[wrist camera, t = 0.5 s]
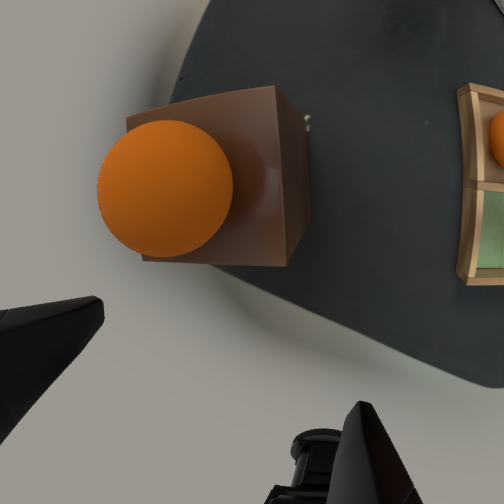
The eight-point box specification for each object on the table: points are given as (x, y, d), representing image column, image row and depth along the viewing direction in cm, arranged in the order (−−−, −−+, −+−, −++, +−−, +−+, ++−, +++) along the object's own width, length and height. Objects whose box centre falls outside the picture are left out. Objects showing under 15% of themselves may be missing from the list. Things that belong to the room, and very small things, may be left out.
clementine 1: (254, 237, 11) (202, 284, 7) (157, 237, 13) (84, 273, 8) (246, 118, 10) (183, 94, 6) (146, 136, 11) (64, 136, 7)
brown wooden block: (311, 218, 20) (286, 267, 11) (220, 219, 22) (142, 261, 13) (306, 120, 18) (275, 84, 9) (213, 130, 20) (125, 117, 11)
